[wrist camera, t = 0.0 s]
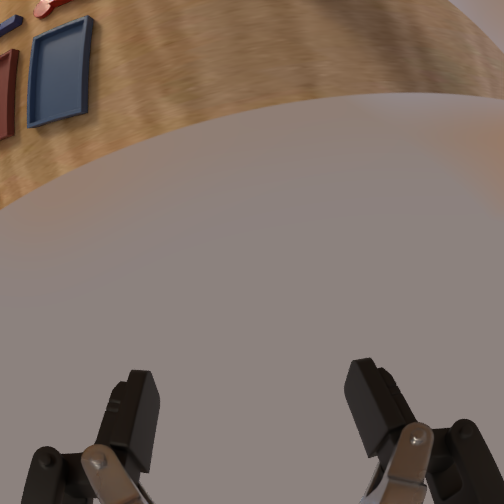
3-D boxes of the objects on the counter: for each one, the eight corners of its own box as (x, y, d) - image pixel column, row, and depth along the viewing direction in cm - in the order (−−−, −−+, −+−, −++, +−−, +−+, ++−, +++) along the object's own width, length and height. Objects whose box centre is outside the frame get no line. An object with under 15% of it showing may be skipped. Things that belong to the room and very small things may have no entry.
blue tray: (39, 39, 24) (33, 37, 22) (93, 19, 24) (88, 15, 23) (34, 127, 30) (27, 128, 28) (87, 112, 30) (81, 112, 28)
